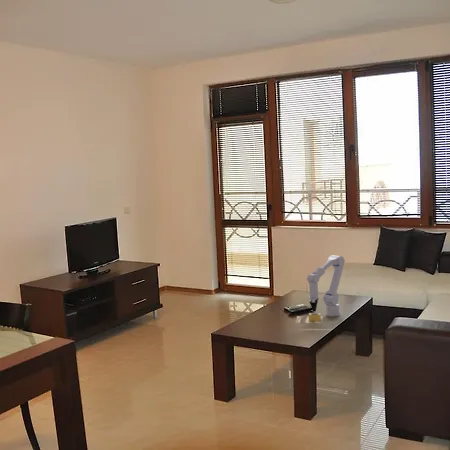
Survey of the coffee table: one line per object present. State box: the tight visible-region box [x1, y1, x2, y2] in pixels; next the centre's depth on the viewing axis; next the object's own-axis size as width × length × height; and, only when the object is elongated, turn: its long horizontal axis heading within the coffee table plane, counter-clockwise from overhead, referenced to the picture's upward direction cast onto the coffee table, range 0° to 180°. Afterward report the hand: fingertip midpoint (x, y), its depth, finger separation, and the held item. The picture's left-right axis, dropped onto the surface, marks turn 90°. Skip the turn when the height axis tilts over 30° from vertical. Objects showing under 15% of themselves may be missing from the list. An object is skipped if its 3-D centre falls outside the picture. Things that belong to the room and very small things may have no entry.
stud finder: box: [308, 312, 322, 321], centre depth 386 cm, size 8×5×4 cm, turn 77°
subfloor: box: [294, 315, 323, 325], centre depth 387 cm, size 18×19×1 cm
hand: (314, 309), depth 386 cm, fingers open, 7 cm apart
